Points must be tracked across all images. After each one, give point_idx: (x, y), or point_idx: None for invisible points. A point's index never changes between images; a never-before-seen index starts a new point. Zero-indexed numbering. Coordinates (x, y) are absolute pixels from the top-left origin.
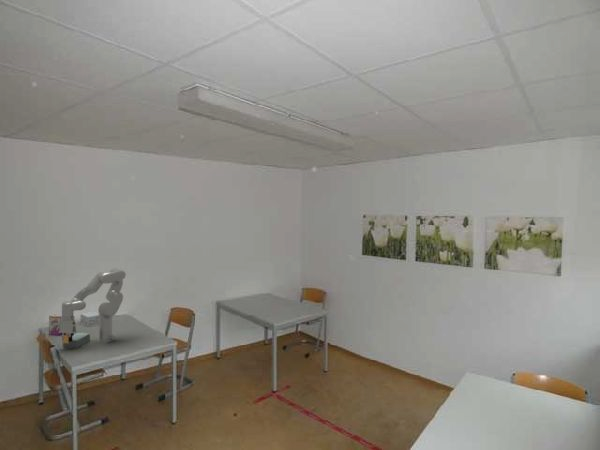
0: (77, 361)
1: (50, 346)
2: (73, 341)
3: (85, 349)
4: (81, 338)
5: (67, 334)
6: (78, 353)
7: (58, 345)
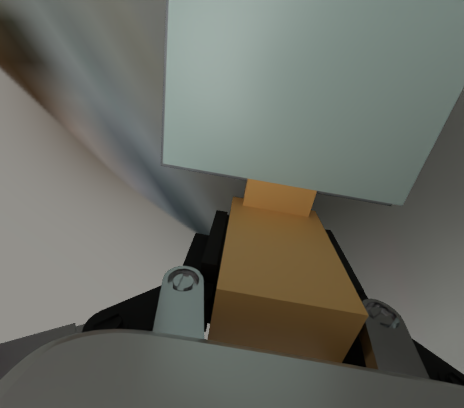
0: None
1: (11, 71)
2: (335, 195)
3: (445, 182)
4: (460, 64)
5: (269, 343)
6: (393, 270)
7: (74, 33)
